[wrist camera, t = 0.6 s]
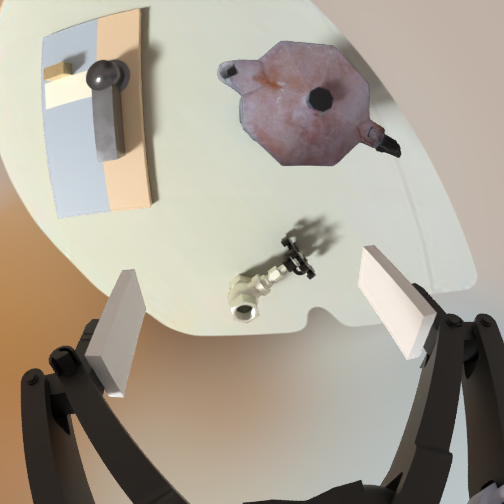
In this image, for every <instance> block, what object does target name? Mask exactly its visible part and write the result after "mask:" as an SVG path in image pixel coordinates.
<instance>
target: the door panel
mask: <svg viewBox="0 0 504 504" xmlns="http://www.w3.org/2000/svg"><path fill="white" fill-rule="evenodd" d="M141 19H142V11H141V10H140V9H135V10H130V11H126V12H122V13H117V14H113V15H109V16H106V17H102V18H98V19H95V20H92V21H88V22H85V23H82V24H79V25H76V26H73V27H70V28H67V29H64V30H62V31H59V32H56V33H54V34H51V35H49V36H46V37H44V38H43V41H42V63H41V89H42V112H43V126H44V136H45V145H46V154H47V161H48V168H49V174H50V180H51V186H52V191H53V196H54V201H55V206H56V210H57V215H58V219H59V218H66V217H73V216H80V215H88V214H95V213H103V212H112V211H120V210H129V209H138V208H148V207H151V205H152V199H151V192H150V183H149V175H148V166H147V156H146V145H145V133H144V119H143V103H142V78H141ZM99 60H108V61H110V62H113V63H115V64H117V65H119V66H121V67H122V68H123V70H124V73H125V77H124V81H123V83H122V85H121V104H122V119H123V132H124V143H125V153H126V155H125V156H123V157H121V158H119V159H117V160H110V161H104V162H99V163H98V161H97V153H96V144H95V134H94V123H93V109H92V89H91V88H90V87H89V86H88V85H87V83H86V74H87V71H88V69H89V68H90V66H91V65H92V64H94V63H95V62H97V61H99ZM60 62H68V63H71V64H72V75H70V76H67V77H64V78H61V79H58V80H55V81H46V80H44V68H47V67H49V66H52V65H55V64H58V63H60Z"/></svg>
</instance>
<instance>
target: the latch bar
mask: <svg viewBox="0 0 504 504" xmlns="http://www.w3.org/2000/svg"><path fill="white" fill-rule="evenodd" d="M124 77H125V73H124V70H123V68H122V67H121V66H119V65H117V64H115V63H113V62H110V61H108V60H99V61H97V62H95V63H94V64H92V65H91V66H90V68H89V69H88V71H87V74H86V83H87V85H88V86H89V87H90V88H91V89H92V109H93V123H94V134H95V144H96V153H97V161H98V163H99V162H104V161H110V160H117V159H119V158H121V157H123V156H125V155H126V153H125V143H124V132H123V119H122V104H121V85H122V83H123V81H124Z"/></svg>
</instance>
